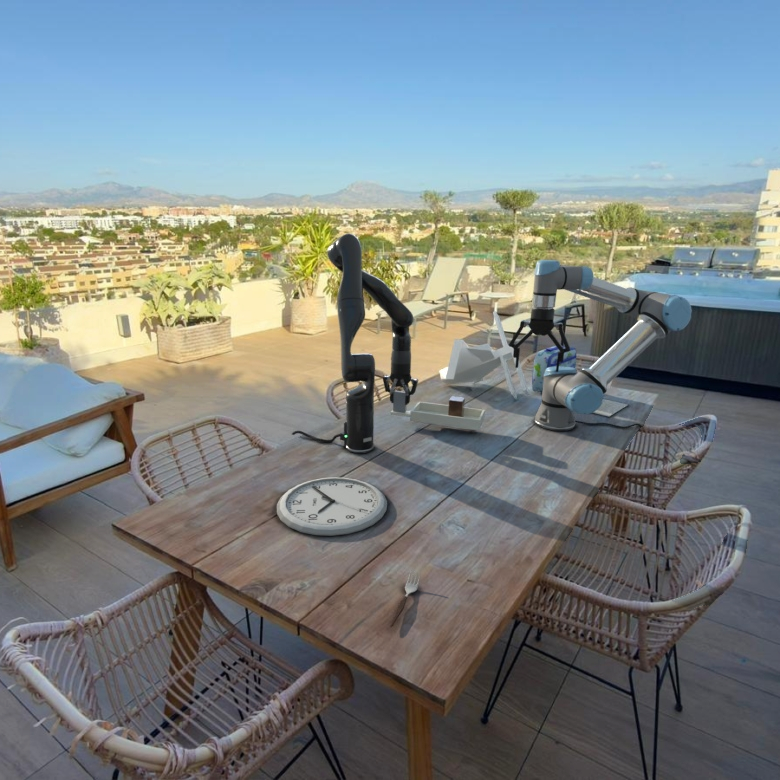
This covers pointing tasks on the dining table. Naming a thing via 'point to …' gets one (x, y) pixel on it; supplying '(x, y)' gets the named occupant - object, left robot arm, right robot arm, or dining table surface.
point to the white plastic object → (481, 362)
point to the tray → (437, 413)
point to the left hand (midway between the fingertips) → (399, 403)
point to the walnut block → (456, 406)
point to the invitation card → (609, 407)
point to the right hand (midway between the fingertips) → (536, 368)
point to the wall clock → (331, 506)
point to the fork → (409, 589)
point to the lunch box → (549, 364)
